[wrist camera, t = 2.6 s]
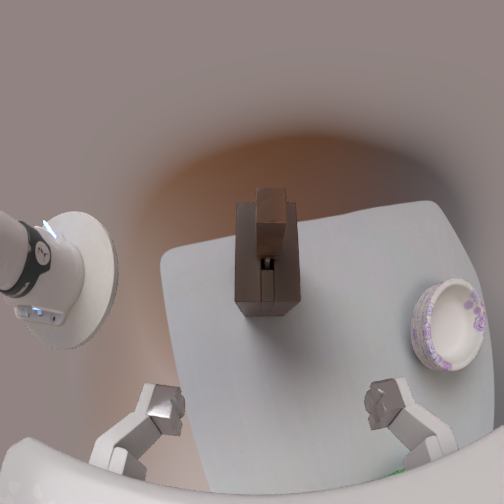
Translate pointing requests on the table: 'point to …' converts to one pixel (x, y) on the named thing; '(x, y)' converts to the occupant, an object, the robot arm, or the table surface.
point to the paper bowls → (448, 325)
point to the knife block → (252, 269)
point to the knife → (270, 223)
